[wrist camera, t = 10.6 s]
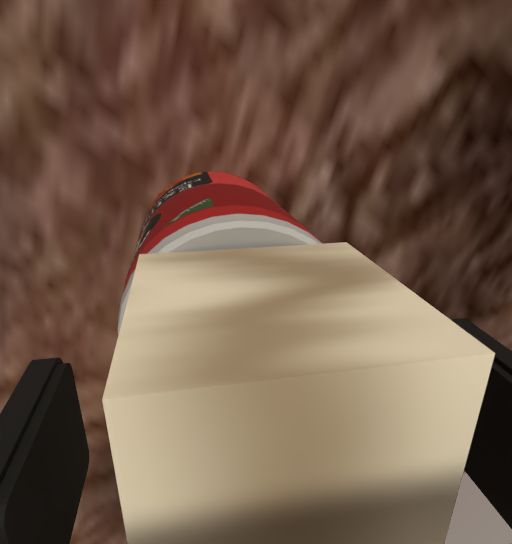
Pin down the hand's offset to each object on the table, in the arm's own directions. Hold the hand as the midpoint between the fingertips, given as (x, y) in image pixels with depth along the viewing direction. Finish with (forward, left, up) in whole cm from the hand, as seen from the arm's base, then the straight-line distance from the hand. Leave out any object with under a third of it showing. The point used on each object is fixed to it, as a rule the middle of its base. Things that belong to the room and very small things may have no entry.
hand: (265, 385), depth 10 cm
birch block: (0, 0, -3) cm, 3 cm away
